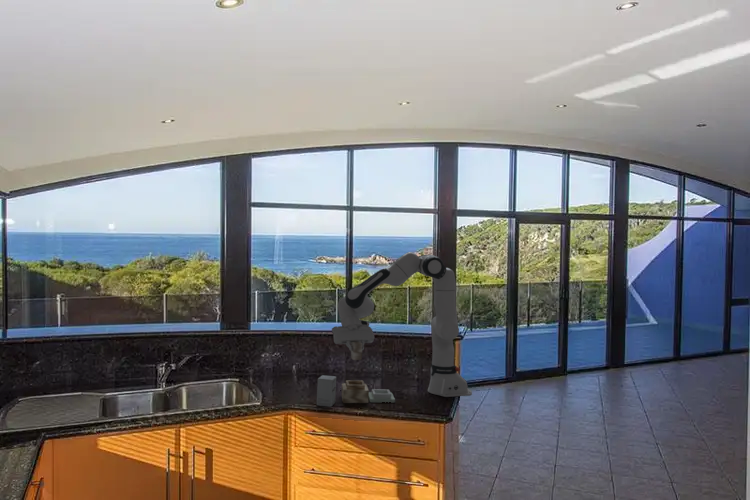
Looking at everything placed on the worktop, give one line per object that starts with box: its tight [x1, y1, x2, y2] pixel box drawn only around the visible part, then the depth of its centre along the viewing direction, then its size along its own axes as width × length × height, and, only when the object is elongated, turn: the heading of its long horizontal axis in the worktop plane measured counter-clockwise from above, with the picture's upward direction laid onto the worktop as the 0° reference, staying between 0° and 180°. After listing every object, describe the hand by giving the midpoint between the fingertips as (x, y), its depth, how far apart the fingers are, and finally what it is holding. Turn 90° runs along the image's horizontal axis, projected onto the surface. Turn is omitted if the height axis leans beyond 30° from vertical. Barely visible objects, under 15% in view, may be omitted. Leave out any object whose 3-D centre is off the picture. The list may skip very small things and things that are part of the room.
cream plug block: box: [350, 342, 363, 361], centre depth 290 cm, size 4×4×8 cm
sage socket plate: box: [368, 388, 396, 404], centre depth 293 cm, size 12×12×4 cm
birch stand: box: [341, 380, 370, 404], centre depth 291 cm, size 12×12×8 cm
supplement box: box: [316, 374, 337, 408], centre depth 281 cm, size 7×7×13 cm
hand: (357, 349), depth 289 cm, fingers closed on cream plug block, 4 cm apart
